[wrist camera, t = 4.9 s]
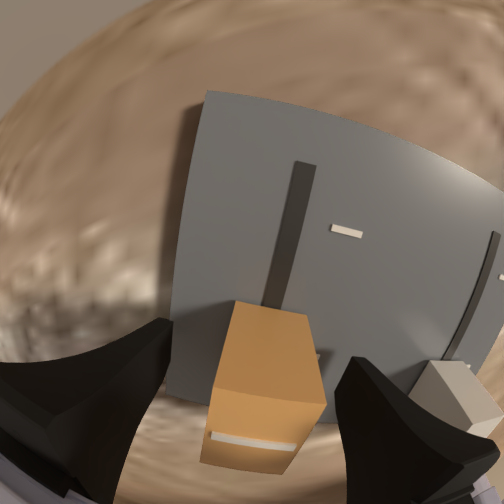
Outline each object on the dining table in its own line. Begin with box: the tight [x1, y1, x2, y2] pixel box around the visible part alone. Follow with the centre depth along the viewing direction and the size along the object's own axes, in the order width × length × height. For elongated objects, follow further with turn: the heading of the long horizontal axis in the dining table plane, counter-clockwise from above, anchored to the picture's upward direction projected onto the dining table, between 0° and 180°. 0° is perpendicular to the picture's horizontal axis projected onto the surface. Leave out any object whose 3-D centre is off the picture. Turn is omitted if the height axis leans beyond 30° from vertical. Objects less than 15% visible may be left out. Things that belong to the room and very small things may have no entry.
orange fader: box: [200, 301, 327, 475], centre depth 9 cm, size 4×3×5 cm
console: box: [166, 90, 504, 423], centre depth 11 cm, size 14×18×1 cm
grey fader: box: [408, 360, 504, 438], centre depth 9 cm, size 4×3×5 cm
